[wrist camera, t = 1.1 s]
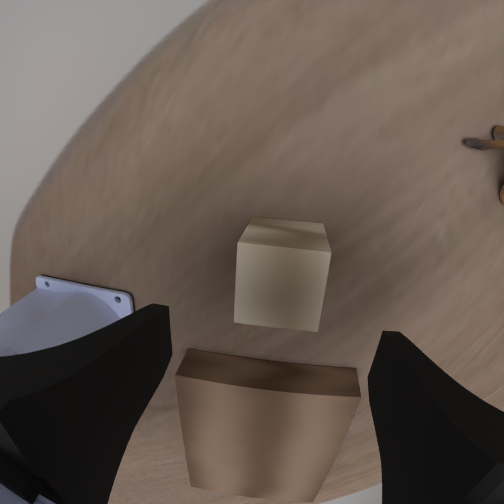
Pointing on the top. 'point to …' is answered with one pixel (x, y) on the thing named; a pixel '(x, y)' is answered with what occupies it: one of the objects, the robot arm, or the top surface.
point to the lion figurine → (490, 147)
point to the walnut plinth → (263, 423)
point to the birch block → (281, 274)
